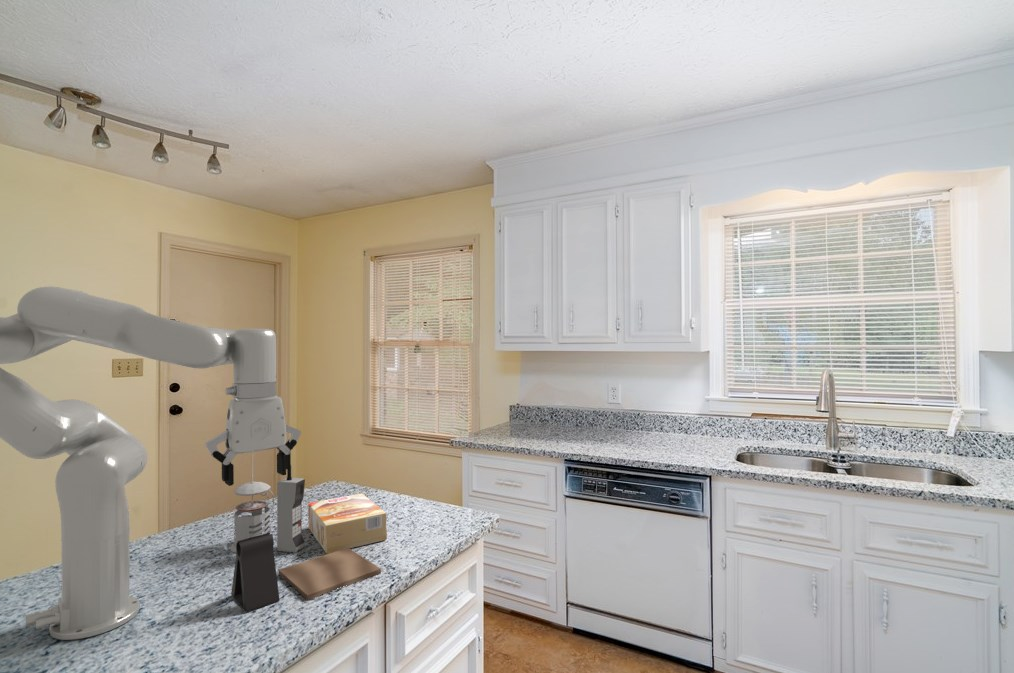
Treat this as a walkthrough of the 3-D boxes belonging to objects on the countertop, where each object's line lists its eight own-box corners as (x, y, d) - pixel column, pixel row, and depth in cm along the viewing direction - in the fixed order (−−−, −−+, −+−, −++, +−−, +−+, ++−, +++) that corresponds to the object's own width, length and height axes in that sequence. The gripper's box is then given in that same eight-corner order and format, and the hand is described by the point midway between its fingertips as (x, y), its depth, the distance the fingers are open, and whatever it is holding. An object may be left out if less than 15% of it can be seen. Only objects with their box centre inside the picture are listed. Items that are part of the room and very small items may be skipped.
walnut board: (307, 600, 97) (307, 595, 97) (278, 574, 108) (278, 569, 108) (380, 573, 109) (380, 568, 109) (347, 551, 119) (347, 547, 119)
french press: (219, 550, 120) (219, 446, 120) (255, 532, 131) (255, 436, 131) (254, 555, 118) (254, 448, 118) (287, 535, 129) (287, 438, 129)
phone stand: (279, 601, 97) (279, 539, 97) (246, 613, 93) (246, 548, 93) (263, 585, 103) (263, 527, 103) (231, 595, 99) (231, 535, 99)
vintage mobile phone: (295, 553, 118) (295, 447, 118) (277, 551, 119) (277, 446, 119) (305, 546, 122) (305, 444, 122) (286, 545, 123) (287, 443, 123)
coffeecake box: (325, 524, 118) (307, 502, 134) (326, 555, 118) (307, 529, 134) (387, 511, 126) (362, 492, 142) (387, 540, 126) (363, 517, 142)
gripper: (211, 397, 89) (211, 493, 89) (307, 389, 102) (307, 473, 102) (199, 393, 95) (200, 484, 95) (292, 386, 107) (293, 467, 107)
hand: (256, 478), depth 98 cm, fingers open, 9 cm apart
